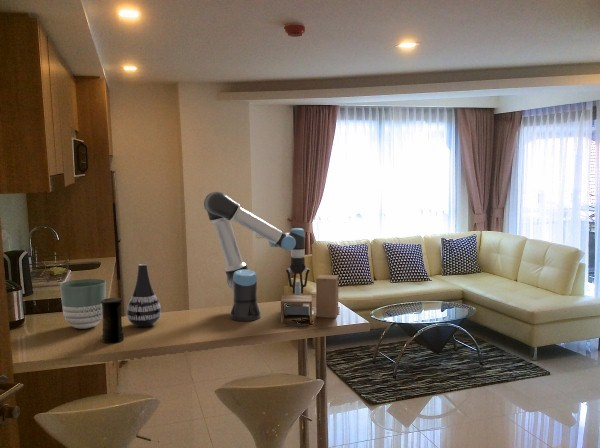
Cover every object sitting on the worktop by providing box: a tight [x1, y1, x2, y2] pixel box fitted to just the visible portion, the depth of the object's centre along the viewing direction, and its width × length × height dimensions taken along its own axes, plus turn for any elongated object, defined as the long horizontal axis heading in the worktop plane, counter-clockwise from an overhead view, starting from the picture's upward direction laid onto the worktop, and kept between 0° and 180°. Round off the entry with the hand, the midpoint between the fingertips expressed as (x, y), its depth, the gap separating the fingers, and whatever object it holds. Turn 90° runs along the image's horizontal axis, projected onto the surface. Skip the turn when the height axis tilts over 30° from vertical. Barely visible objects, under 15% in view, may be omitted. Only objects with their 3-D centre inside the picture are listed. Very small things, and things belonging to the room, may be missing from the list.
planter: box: [59, 278, 107, 330], centre depth 244 cm, size 20×20×21 cm
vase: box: [126, 263, 162, 329], centre depth 246 cm, size 16×16×30 cm
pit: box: [285, 322, 308, 328], centre depth 246 cm, size 5×10×1 cm, turn 89°
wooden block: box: [315, 274, 339, 319], centre depth 263 cm, size 10×10×20 cm
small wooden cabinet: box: [284, 279, 310, 317], centre depth 274 cm, size 23×12×14 cm, turn 179°
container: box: [101, 297, 124, 345], centre depth 223 cm, size 9×9×18 cm
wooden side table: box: [280, 294, 313, 324], centre depth 257 cm, size 14×15×10 cm
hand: (298, 299), depth 283 cm, fingers closed on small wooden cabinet, 2 cm apart
